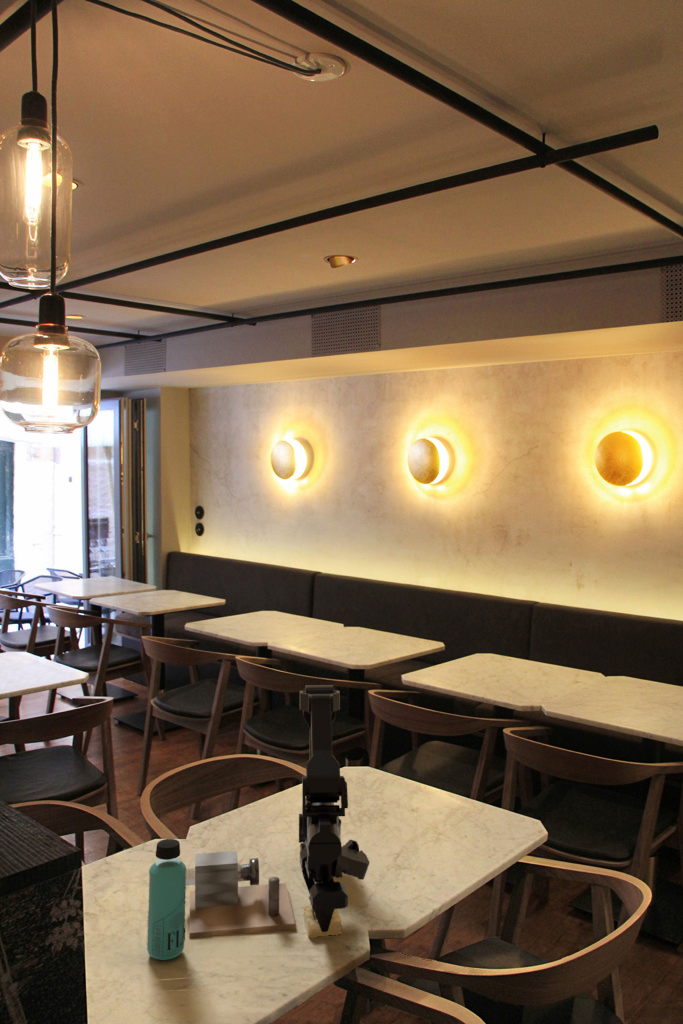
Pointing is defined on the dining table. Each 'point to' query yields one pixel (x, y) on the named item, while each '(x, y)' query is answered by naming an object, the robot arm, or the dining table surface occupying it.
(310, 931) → the frame
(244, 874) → the shaft
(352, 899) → the dining table surface
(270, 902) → the shaft stand
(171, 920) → the beverage bottle
